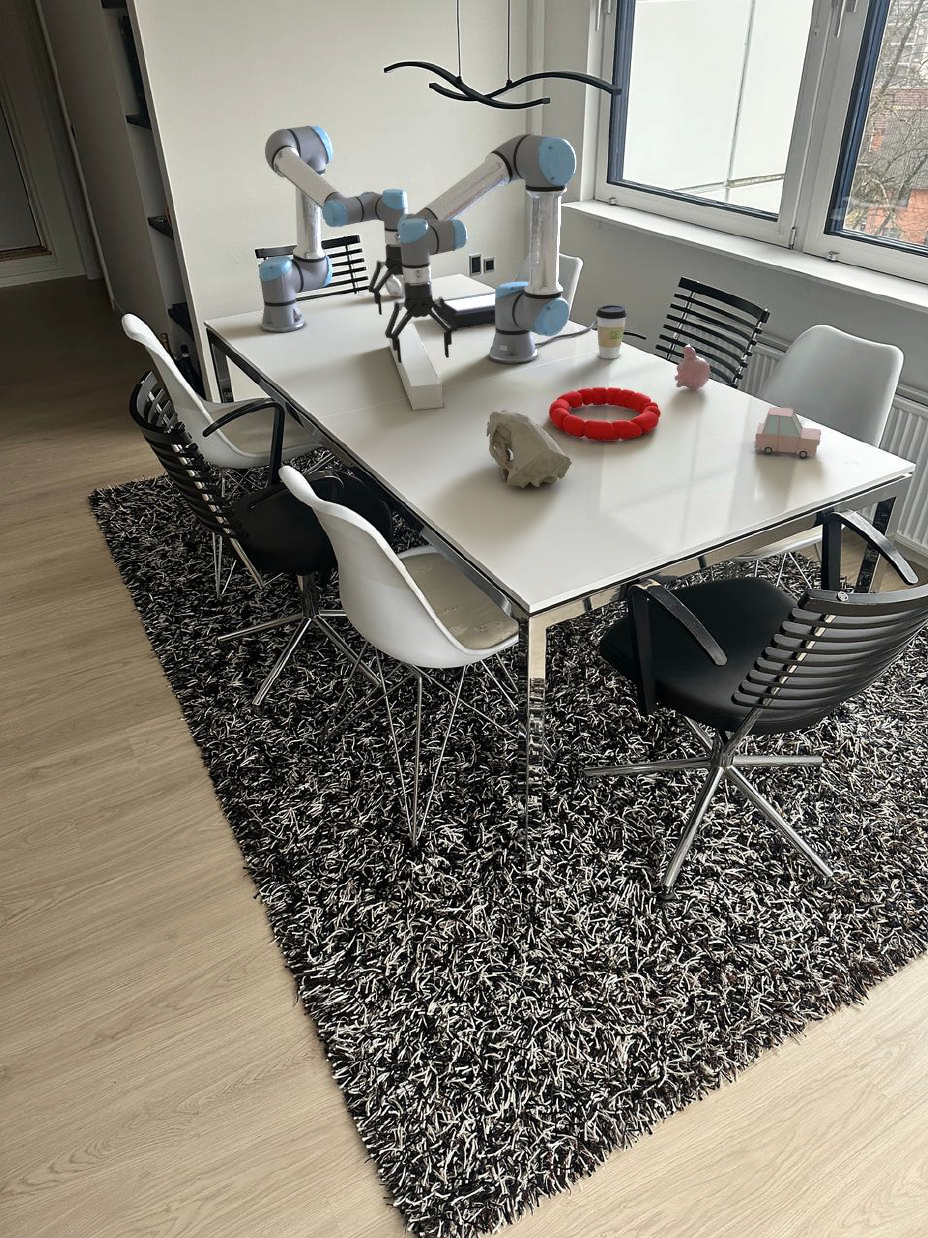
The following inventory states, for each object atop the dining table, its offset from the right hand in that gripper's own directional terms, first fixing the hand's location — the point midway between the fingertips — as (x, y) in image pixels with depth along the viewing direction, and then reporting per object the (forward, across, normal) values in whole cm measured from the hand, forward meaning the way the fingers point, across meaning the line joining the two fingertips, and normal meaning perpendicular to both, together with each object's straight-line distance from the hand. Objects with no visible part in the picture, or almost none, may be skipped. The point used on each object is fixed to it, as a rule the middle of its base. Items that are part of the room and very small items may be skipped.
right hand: (423, 358), depth 253 cm
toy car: (+14, +84, -57) cm, 102 cm away
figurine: (+14, +77, -10) cm, 79 cm away
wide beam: (+13, -1, +24) cm, 27 cm away
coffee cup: (+14, +64, +25) cm, 70 cm away
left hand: (0, -1, +49) cm, 49 cm away
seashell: (+14, +6, +116) cm, 117 cm away
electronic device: (+14, +32, +78) cm, 86 cm away
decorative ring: (+13, +45, -28) cm, 55 cm away
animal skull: (+12, +16, -52) cm, 56 cm away
